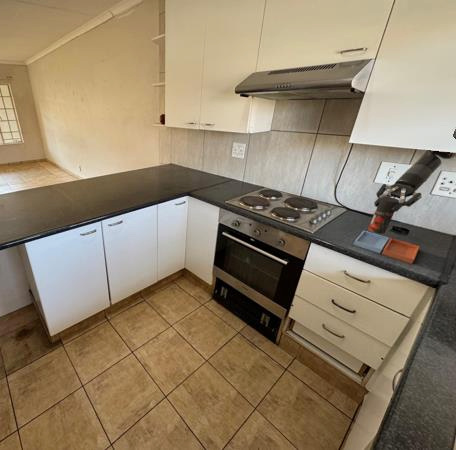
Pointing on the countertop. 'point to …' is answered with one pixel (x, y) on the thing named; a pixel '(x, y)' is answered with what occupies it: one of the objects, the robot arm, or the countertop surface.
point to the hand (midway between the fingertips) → (384, 208)
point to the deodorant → (383, 215)
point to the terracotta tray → (401, 250)
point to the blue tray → (371, 241)
